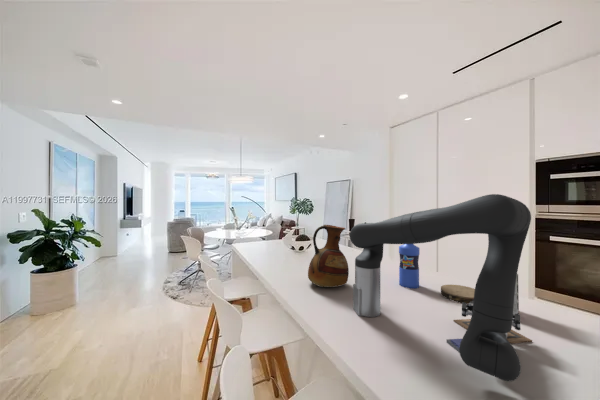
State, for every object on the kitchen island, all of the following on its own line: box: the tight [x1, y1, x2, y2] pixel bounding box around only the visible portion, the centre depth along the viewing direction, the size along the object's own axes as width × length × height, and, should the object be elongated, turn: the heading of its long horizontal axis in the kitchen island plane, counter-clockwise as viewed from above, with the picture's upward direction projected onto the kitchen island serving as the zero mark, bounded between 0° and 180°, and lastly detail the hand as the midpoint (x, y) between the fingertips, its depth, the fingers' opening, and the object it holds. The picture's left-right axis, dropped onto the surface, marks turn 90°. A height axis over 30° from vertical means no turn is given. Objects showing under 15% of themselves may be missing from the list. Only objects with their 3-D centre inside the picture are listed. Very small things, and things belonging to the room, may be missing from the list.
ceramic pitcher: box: [307, 223, 350, 288], centre depth 121 cm, size 20×20×30 cm
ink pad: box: [446, 338, 462, 354], centre depth 66 cm, size 11×11×1 cm
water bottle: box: [398, 244, 420, 290], centre depth 120 cm, size 9×9×25 cm
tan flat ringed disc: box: [440, 284, 475, 304], centre depth 106 cm, size 16×16×3 cm
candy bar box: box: [513, 273, 520, 315], centre depth 91 cm, size 11×5×16 cm, turn 148°
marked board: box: [453, 318, 533, 345], centre depth 78 cm, size 14×14×1 cm
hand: (489, 307), depth 79 cm, fingers open, 8 cm apart
